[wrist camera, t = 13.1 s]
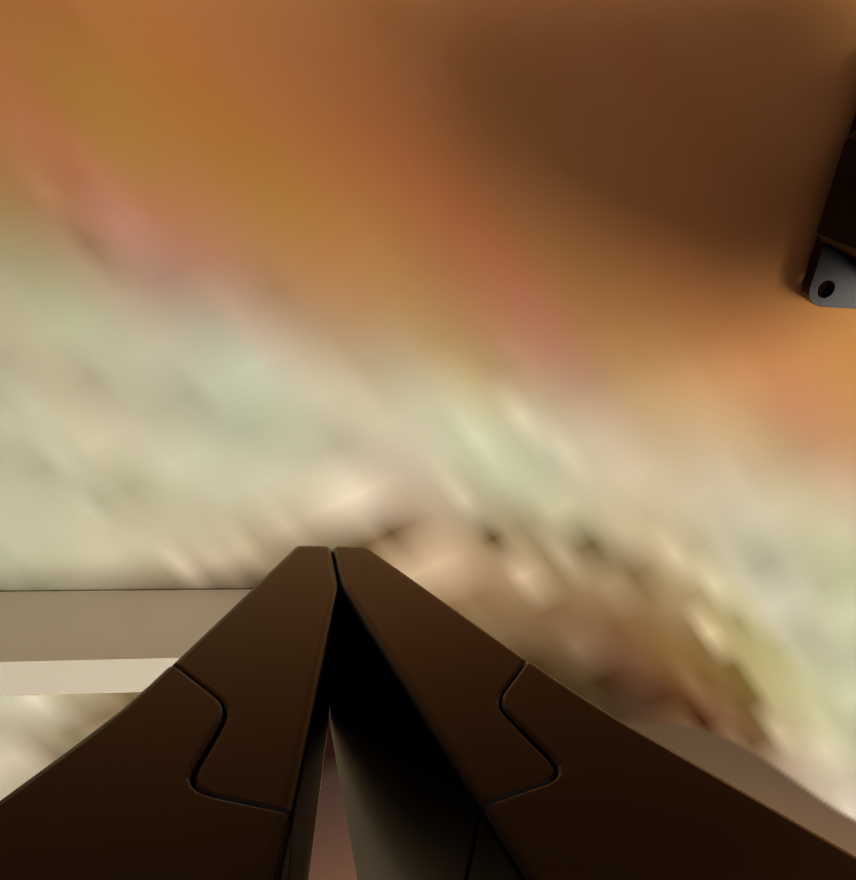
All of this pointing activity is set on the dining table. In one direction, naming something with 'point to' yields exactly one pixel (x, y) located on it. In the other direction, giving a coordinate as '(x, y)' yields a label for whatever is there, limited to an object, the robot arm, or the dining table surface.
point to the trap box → (100, 637)
